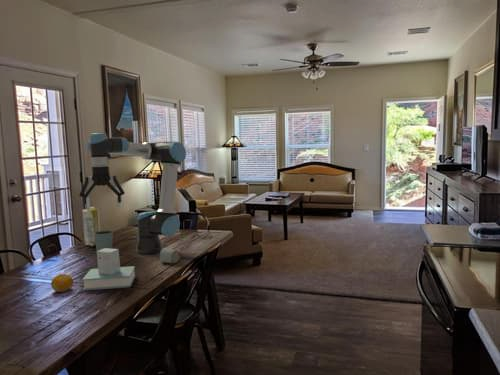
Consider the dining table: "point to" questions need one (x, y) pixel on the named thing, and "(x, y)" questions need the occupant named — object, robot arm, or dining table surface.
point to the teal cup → (103, 239)
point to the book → (109, 279)
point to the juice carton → (90, 225)
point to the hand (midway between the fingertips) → (103, 210)
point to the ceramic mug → (169, 255)
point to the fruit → (62, 282)
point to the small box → (108, 261)
